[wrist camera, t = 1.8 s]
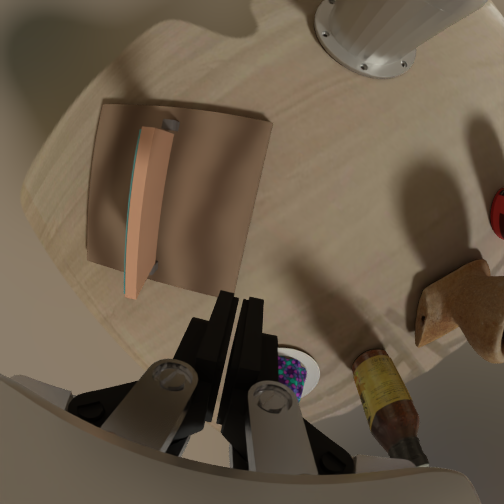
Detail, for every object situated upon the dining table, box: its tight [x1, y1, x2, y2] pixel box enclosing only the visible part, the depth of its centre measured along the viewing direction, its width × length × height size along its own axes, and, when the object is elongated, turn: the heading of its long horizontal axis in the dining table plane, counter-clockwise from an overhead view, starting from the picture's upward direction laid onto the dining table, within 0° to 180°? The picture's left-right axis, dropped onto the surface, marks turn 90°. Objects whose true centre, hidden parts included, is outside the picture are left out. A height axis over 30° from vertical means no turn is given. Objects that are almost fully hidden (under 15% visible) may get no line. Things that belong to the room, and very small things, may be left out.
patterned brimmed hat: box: [278, 348, 320, 403], centre depth 35 cm, size 12×12×5 cm
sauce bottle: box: [352, 349, 429, 467], centre depth 26 cm, size 7×6×20 cm
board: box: [87, 104, 273, 297], centre depth 28 cm, size 20×20×3 cm
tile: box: [124, 126, 174, 299], centre depth 23 cm, size 8×14×1 cm
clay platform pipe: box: [415, 259, 504, 363], centre depth 24 cm, size 15×12×15 cm
